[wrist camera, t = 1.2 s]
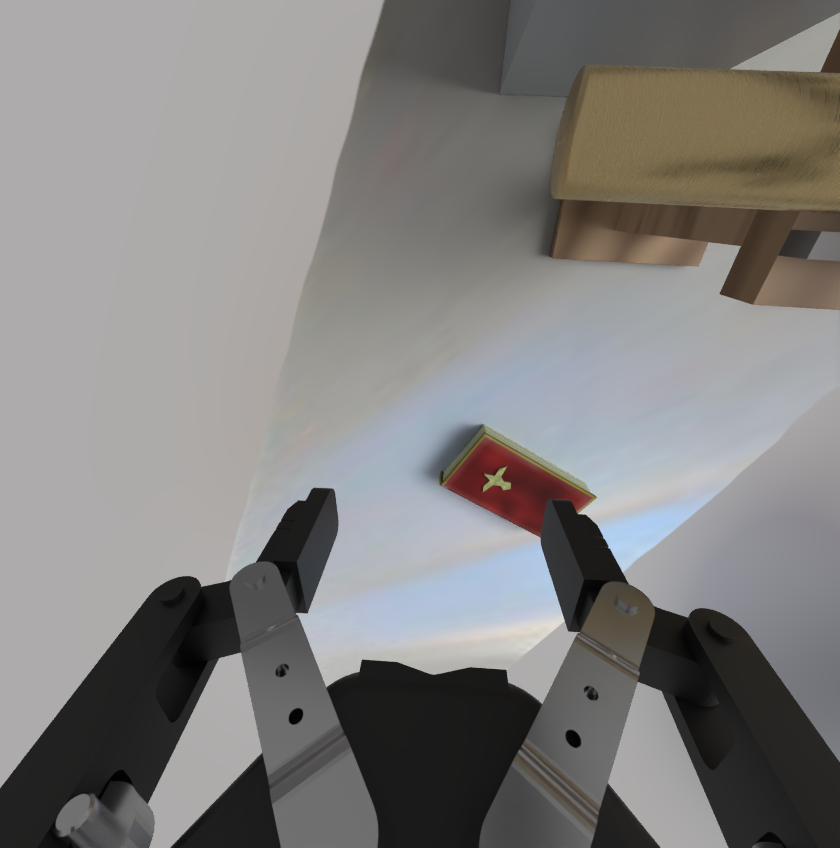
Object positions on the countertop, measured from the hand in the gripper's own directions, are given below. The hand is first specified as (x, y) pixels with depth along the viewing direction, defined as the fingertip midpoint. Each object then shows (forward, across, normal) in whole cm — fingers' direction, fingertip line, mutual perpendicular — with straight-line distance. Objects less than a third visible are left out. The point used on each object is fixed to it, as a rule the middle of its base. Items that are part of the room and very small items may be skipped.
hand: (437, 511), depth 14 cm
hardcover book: (+39, -12, +25) cm, 48 cm away
